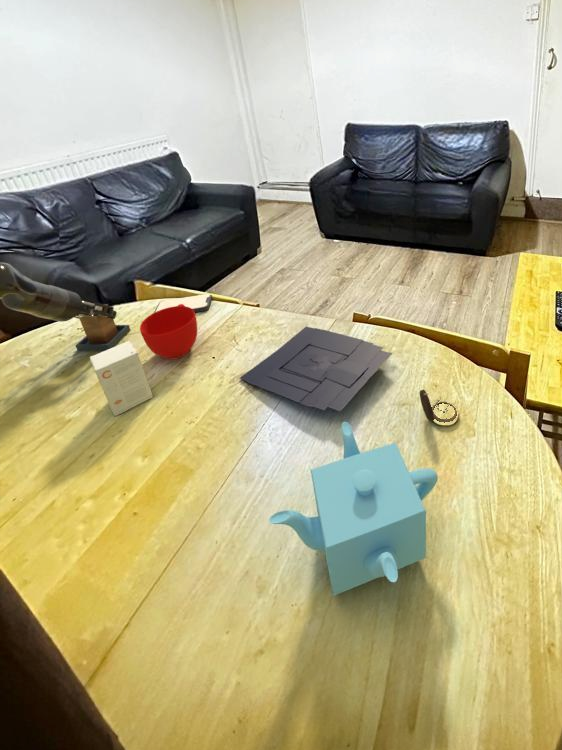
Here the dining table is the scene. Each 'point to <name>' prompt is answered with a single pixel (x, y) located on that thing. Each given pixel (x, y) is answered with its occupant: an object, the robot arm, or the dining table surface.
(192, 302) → the phone case
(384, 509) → the teakettle
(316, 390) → the dark grey flat slab
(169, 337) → the ceramic cup
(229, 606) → the dining table surface
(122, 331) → the cradle
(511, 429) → the dining table surface
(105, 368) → the small box
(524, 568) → the dining table surface
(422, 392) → the compass
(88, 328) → the pad block
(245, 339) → the dining table surface
